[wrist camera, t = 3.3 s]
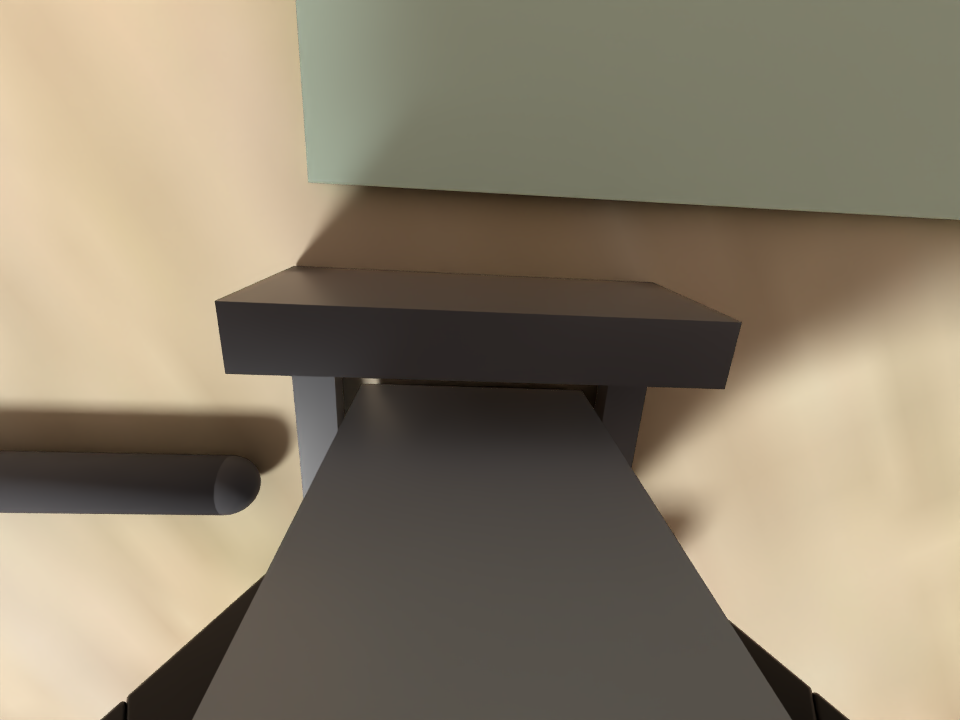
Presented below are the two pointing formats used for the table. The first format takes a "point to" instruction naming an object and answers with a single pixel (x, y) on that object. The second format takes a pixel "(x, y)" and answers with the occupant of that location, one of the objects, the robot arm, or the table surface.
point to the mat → (641, 100)
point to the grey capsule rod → (126, 483)
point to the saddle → (469, 339)
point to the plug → (482, 579)
